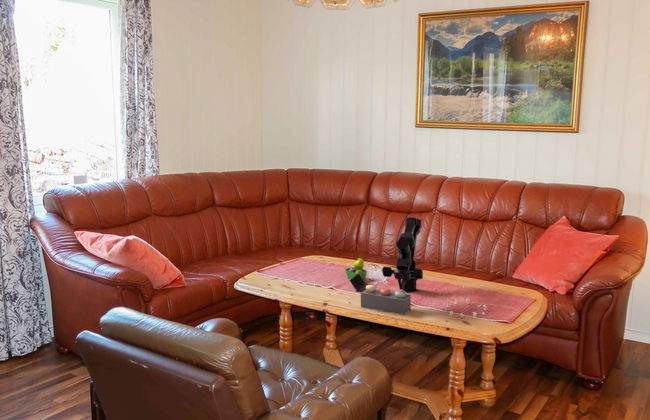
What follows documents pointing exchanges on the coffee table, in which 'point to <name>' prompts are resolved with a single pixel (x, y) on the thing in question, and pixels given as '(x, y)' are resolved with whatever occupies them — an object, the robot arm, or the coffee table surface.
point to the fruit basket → (356, 270)
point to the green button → (400, 294)
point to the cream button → (371, 288)
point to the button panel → (385, 302)
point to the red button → (385, 291)
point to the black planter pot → (359, 283)
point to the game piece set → (467, 303)
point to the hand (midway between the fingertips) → (400, 289)
